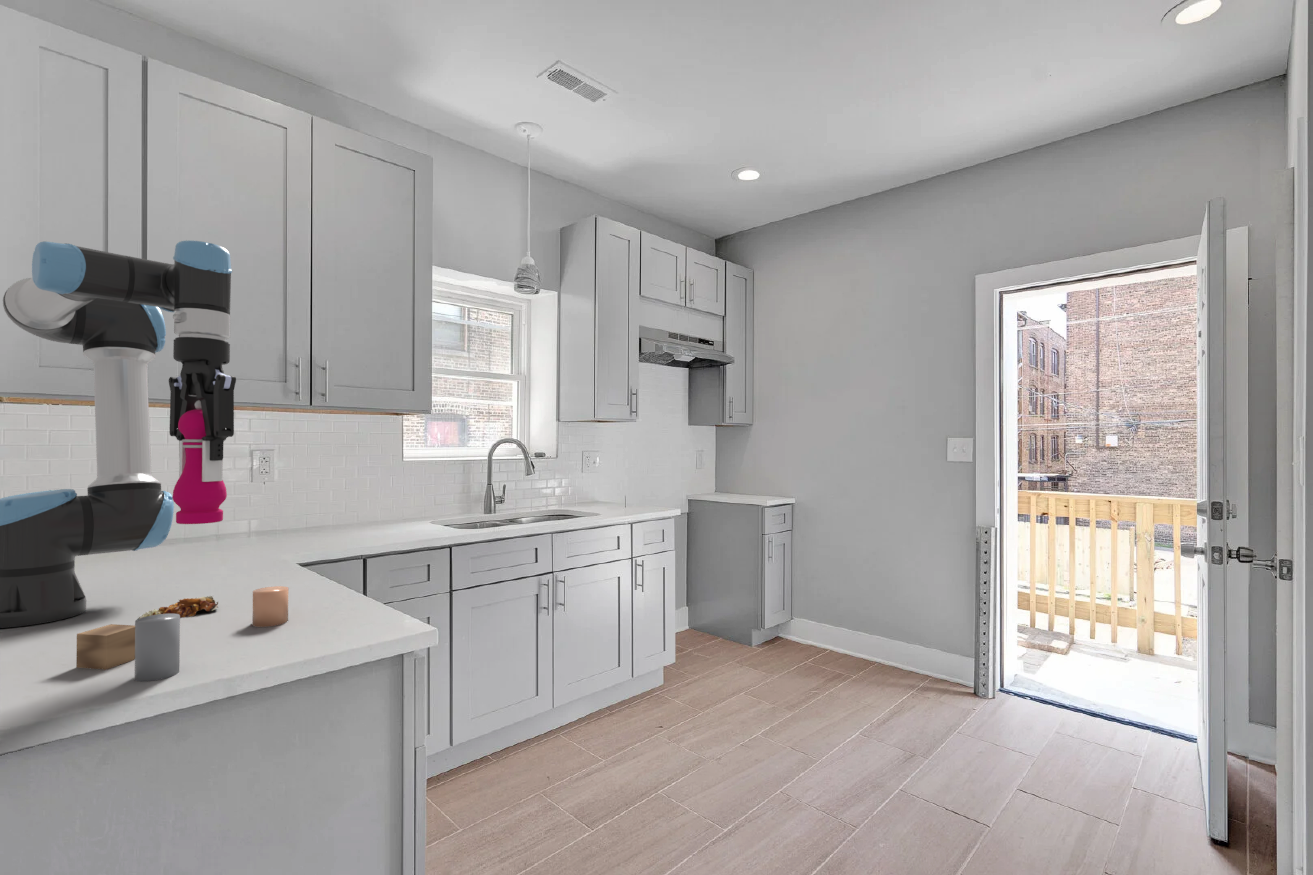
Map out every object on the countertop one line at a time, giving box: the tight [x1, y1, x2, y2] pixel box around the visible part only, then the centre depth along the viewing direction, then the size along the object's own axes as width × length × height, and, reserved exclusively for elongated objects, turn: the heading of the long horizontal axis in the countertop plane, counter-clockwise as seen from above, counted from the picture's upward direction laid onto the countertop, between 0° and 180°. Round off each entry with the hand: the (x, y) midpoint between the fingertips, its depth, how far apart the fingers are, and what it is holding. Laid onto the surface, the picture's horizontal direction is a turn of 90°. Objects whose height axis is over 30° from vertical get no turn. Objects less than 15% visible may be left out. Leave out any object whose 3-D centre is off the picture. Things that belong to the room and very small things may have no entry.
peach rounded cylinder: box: [251, 585, 289, 628], centre depth 116 cm, size 6×6×6 cm
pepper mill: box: [172, 400, 228, 525], centre depth 104 cm, size 7×7×20 cm
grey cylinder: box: [134, 614, 181, 682], centre depth 90 cm, size 5×5×8 cm
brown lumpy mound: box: [138, 595, 219, 619], centre depth 121 cm, size 7×12×4 cm, turn 132°
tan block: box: [75, 623, 135, 671], centre depth 95 cm, size 5×5×5 cm
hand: (200, 480), depth 104 cm, fingers closed on pepper mill, 5 cm apart
